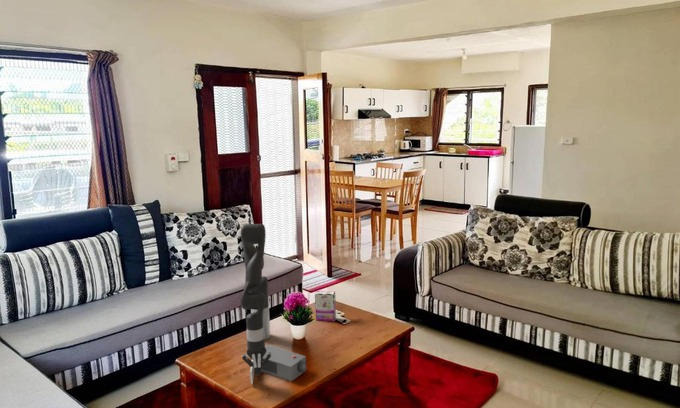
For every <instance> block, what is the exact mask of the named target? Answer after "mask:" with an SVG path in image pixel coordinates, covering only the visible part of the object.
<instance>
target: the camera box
mask: <svg viewBox="0 0 680 408" xmlns="http://www.w3.org/2000/svg"><path fill="white" fill-rule="evenodd" d="M265 348H266V351H267V352H271V357H270V358H269V360H268V361H267V362H266V364H265V365H264V366H261V373H262V372H263V373H266V374H268V375H272V376H274V377H278V378H279V379H283V380H286V381H288V382H293V381H295V379H297V378H298V377H299V376H301V375H302V374H303V373H305V372H306V371H307V366H308V365H307V357H306V355H303V354H300V353H296V352H293V351H290V350H287V349H283V348H280V347H276V346H273V345H270V344H268V345H265ZM265 355H266V354H265ZM265 355H264V356H263V358H262V359H261V362H262V361H263V360H264V358H265ZM257 365H258V360H257Z"/></svg>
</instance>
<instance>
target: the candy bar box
mask: <svg viewBox="0 0 680 408" xmlns="http://www.w3.org/2000/svg"><path fill="white" fill-rule="evenodd" d="M314 302H315V303H314V304H315V321H316V322H318V321H319V322H335V321H336V319H337V308H336V307H337V306H336V305H337V304H336V302H337V301H336V291H331V290H330V291H328V290H316V291H315V293H314ZM335 318H336V319H335Z"/></svg>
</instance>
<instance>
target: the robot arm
mask: <svg viewBox="0 0 680 408" xmlns="http://www.w3.org/2000/svg"><path fill="white" fill-rule="evenodd" d="M266 232H267V231H266V227H265V224H264V223H263V224H262V223H245V224H242V226H241V228H240V239H241V244H242V249H243V259H244V268H245V277H244V278H245V283H244V287H243V292H242V294H241V298H240V307H241V308H242V309H243V310H246V311H247V310H249V311H250V313H248V314H247V315H246V317H245V323H246V333H245V334H246V347H247V350H246V352H245V353H243V354H242V357H241V358H242V360H243V361H244V362H245V363H246V364H247V366H249V367H250V368H251V367H254V375H255V376H260V374H261V373H262V371H261V366H264V365H265V364H266V362H267V361H268V360H269V358H270V357H271V352H267V351H266V348H265V347H266V343H265V340H269V339H270V338H271V327H270V305H269V280H268V277H267V276H264V275H263V269H264V267H265V260H264V254H265V245H266V235H267V234H266ZM255 245H257V247H256V246H255ZM265 354H266V355H265ZM264 355H265V358H264V360H263V361H262V362H261V359H262V358H263V356H264ZM252 360H253V362H252ZM257 360H258V365H257Z"/></svg>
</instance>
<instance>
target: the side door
mask: <svg viewBox="0 0 680 408" xmlns="http://www.w3.org/2000/svg"><path fill="white" fill-rule="evenodd" d="M251 361H252V362H253V360H252V359H251ZM254 375H255V373H254V367H250V370H249V382H250V384H251V385H253V382H254Z"/></svg>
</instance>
